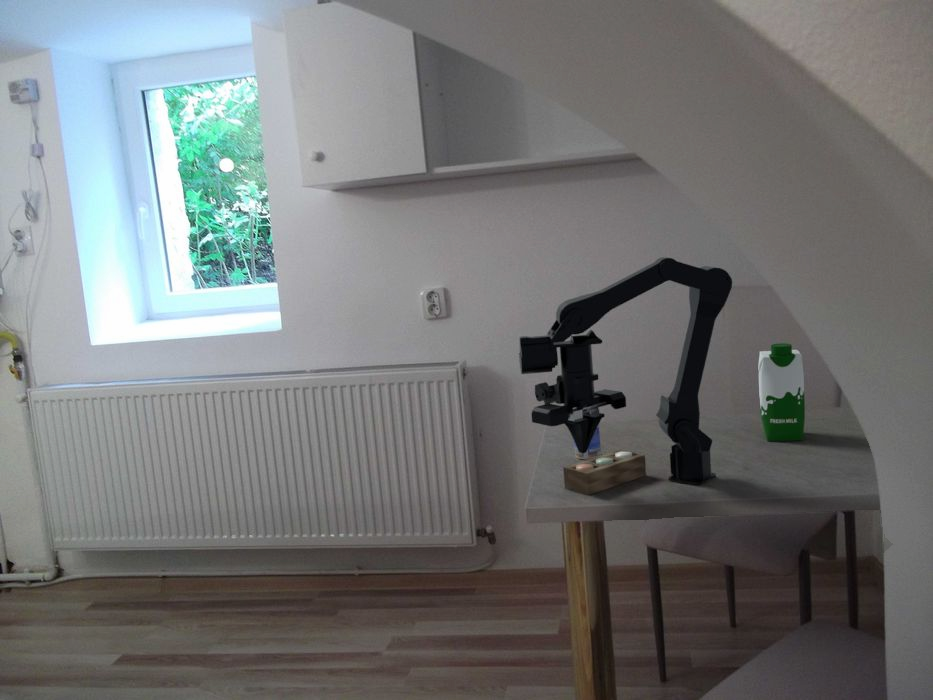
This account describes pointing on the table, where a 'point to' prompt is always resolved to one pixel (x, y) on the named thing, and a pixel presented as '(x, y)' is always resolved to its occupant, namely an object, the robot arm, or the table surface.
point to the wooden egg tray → (604, 473)
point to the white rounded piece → (623, 455)
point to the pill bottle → (591, 447)
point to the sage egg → (604, 461)
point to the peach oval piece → (584, 467)
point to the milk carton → (782, 393)
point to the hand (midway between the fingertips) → (582, 452)
